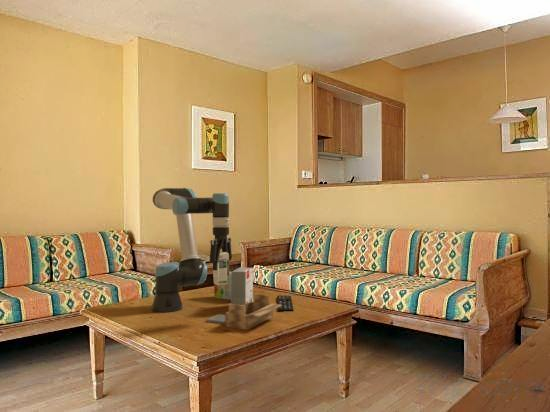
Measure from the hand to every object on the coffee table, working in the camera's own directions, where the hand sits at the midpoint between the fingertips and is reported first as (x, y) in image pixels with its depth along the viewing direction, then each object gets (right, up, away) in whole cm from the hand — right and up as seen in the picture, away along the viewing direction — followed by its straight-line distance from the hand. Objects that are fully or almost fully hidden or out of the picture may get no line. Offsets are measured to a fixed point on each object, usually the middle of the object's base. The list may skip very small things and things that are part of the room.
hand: (221, 275), depth 203 cm
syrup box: (0, -4, 0) cm, 4 cm away
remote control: (+30, -21, +31) cm, 48 cm away
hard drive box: (+8, -20, +23) cm, 32 cm away
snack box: (+1, -20, +44) cm, 48 cm away
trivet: (0, -21, 0) cm, 21 cm away
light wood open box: (+16, -21, -3) cm, 26 cm away
